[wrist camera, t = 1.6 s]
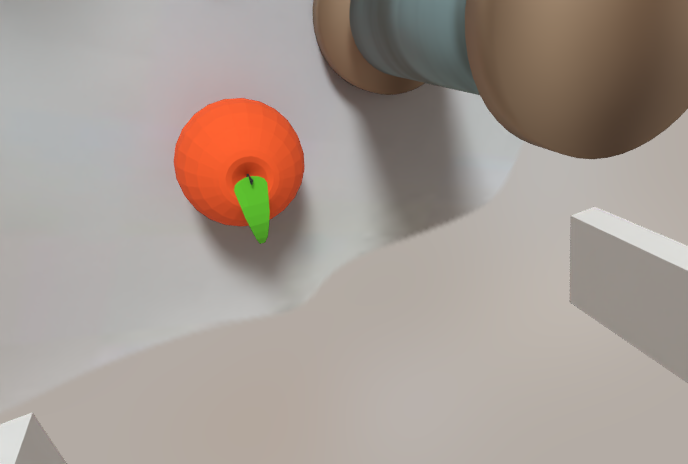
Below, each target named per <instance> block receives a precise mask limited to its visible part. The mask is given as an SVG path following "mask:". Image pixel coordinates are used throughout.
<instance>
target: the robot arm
mask: <svg viewBox="0 0 688 464" xmlns="http://www.w3.org/2000/svg"><path fill="white" fill-rule="evenodd" d="M570 303H571V304H573V305H574V306H576V307H577V308H579V309H580V310H582V311H583V312H585V313H586V314H588V315H589V316H591V317H592V318H594V319H595V320H596V321H598V322H599V323H601V324H602V325H604V326H605V327H607V328H608V329H609V330H611V331H612V332H614V333H615V334H617V335H618V336H620V337H621V338H622V339H624V340H625V341H627V342H629V343H630V344H631V345H633V346H634V347H636V348H637V349H639V350H640V351H641V352H643V353H644V354H646V355H647V356H649V357H650V358H652V359H653V360H655V361H656V362H657V363H659V364H660V365H662V366H663V367H665V368H666V369H668V370H669V371H671V372H672V373H674V374H675V375H677V376H678V377H679V378H681V379H682V380H684V381H685V382H687V383H688V246H687V245H684V244H681V243H680V242H677V241H675V240H672V239H670V238H667V237H665V236H663V235H661V234H658V233H656V232H654V231H651V230H649V229H646V228H644V227H642V226H639V225H637V224H635V223H632V222H630V221H628V220H625V219H623V218H620V217H618V216H615V215H613V214H611V213H608V212H606V211H604V210H602V209H599V208H597V207H593V208H590V209H587V210H585V211H582V212H579V213H577V214H574V215H571V227H570ZM0 464H67V463H66V462H65V460H64V459H63V457H62V456H61V454H60V453H59V451H58V450H57V448H56V447H55V445H54V444H53V442H52V441H51V439H50V438H49V436H48V435H47V433H46V432H45V430H44V429H43V427H42V426H41V424H40V423H39V421H38V420H37V418H36V417H35V415H34V414H33V412H32V413H30V414H27V415H24V416H22V417H19V418H16V419H13V420H11V421H8V422H5V423H2V424H0Z"/></svg>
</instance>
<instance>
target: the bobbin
mask: <svg viewBox="0 0 688 464" xmlns="http://www.w3.org/2000/svg"><path fill="white" fill-rule="evenodd" d="M313 24H314V31H315V35H316V39H317V42H318V45H319V47H320V50H321V52H322V54H323V56H324V57H325V59H326V61H327V62H328V64H329V65H330V66H331V68H332V69H333V70H334V71H335V72H336V73H337V74H338V75H339V76H340V77H341V78H343V79H344V80H345V81H347V82H348V83H350V84H352V85H353V86H356V87H358V88H361V89H364V90H367V91H370V92H374V93H377V94H386V95H391V94H400V93H405V92H408V91H411V90H414V89H416V88H418V87H419V86H421V85H423V84H424V83H428V84H433V85H437V86H442V87H446V88H451V89H455V90H460V91H464V92H469V93H473V94H478V95H480V96H481V97H482V99H483V101H484V103H485V105H486V106H487V108H488V110H489V111H490V112H491V113H492V115H493V116H494V117H495V119H496V120H497V121H498V122H499V123H500V124H501V125H502V126H503V127H504V128H505V129H506V130H508V131H509V132H510V133H512V134H513V135H515V136H516V137H518V138H519V139H521V140H524V141H526V142H528V143H530V144H533V145H536V146H539V147H542V148H545V149H548V150H551V151H554V152H558V153H560V154H564V155H567V156H571V157H576V158H583V159H597V158H608V157H612V156H616V155H619V154H623V153H625V152H628V151H630V150H633V149H635V148H637V147H639V146H641V145H643V144H645V143H646V142H648V141H650V140H651V139H653V138H654V137H656V136H657V135H659V134H660V133H661V132H663V131H664V130H665V129H667V128H668V127H669V126H670V125H671V124H672V123H674V122H675V121H676V120H677V119H678V118H679V117H680V116H681V115H682V114H683V113H684V112H685V111H686V110H687V109H688V0H314V1H313Z"/></svg>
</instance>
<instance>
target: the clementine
mask: <svg viewBox="0 0 688 464" xmlns="http://www.w3.org/2000/svg"><path fill="white" fill-rule="evenodd" d="M174 167H175V173H176V178H177V181H178V183H179V185H180V187H181V189H182V191H183V193H184V195H185V197H186V198H187V199H188V200H189V202H190V203H191V204H192V205H193V206H194V207H195V208H196V210H197V211H199V212H200V213H202V214H203V215H205V216H206V217H208V218H209V219H211V220H214V221H216V222H219V223H222V224H225V225H233V226H248V225H249V226H250V228H251V230H252V232H253V234H254V236H255V237H256V239H257V241H258V242H259V243H260V244H261V243H264V242H266V239H267V237H268V230H269V219H272V218H273V217H275V216H276V215H278V214H279V213H280V212H282V211H283V210H284V209H285V208H286V207H287V206H288V205H289V203H290V202H291V201H292V200H293V199H294V198H295V196H296V194H297V191H298V189H299V187H300V185H301V183H302V178H303V173H304V153H303V150H302V147H301V144H300V141H299V138H298V136H297V134H296V132H295V131H294V129H293V128H292V126H291V125H290V123H289V122H288V120H287V119H286V118H284V117H283V116H282V115H281V114H280V113H279V112H278V111H277V110H275V109H274V108H272V107H270V106H268V105H266V104H264V103H262V102H259V101H254V100H249V99H244V98H237V99H223V100H221V101H218V102H215V103H212V104H209V105H207V106H206V107H204V108H203V109H201V110H200V111H199V112H197V113H196V114H194V115H193V117H192V118H191V119H190V120H189V122H188V123H187V124H186V125H185V127H184V128H183V129H182V131H181V134H180V136H179V139H178V141H177V143H176V147H175V156H174Z"/></svg>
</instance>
